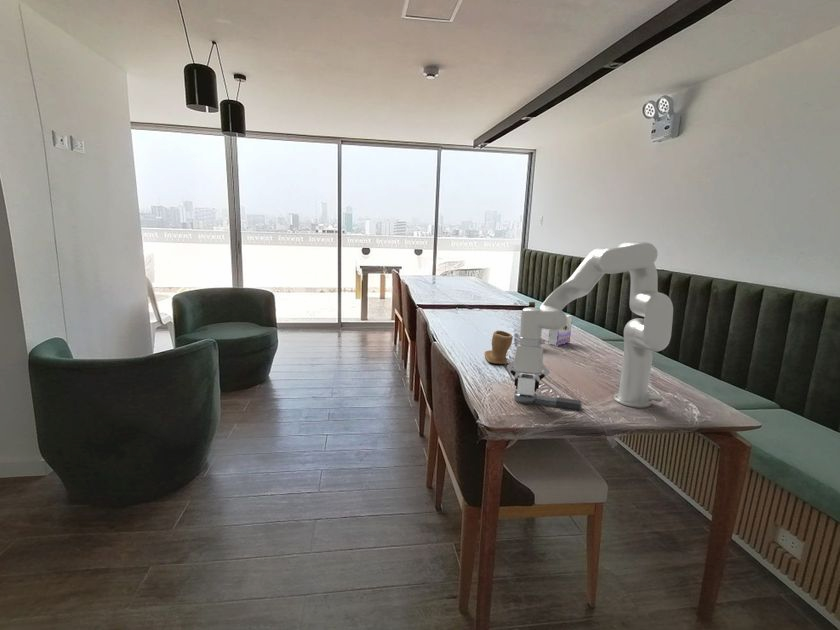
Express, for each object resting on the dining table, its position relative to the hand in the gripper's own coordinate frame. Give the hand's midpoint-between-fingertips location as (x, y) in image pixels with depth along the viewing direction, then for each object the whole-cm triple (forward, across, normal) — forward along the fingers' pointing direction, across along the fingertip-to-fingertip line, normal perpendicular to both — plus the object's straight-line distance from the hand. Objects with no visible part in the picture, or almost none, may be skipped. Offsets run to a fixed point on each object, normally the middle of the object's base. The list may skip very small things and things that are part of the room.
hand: (526, 388), depth 155 cm
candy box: (+5, -11, -97) cm, 98 cm away
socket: (+1, 0, 0) cm, 1 cm away
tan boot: (+5, +17, -47) cm, 50 cm away
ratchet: (+5, -8, 0) cm, 9 cm away
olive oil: (+5, +5, -83) cm, 83 cm away
